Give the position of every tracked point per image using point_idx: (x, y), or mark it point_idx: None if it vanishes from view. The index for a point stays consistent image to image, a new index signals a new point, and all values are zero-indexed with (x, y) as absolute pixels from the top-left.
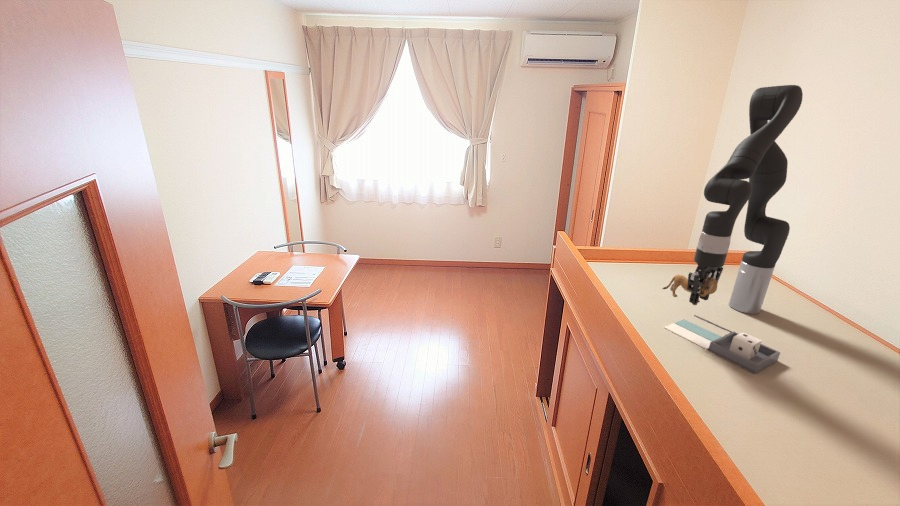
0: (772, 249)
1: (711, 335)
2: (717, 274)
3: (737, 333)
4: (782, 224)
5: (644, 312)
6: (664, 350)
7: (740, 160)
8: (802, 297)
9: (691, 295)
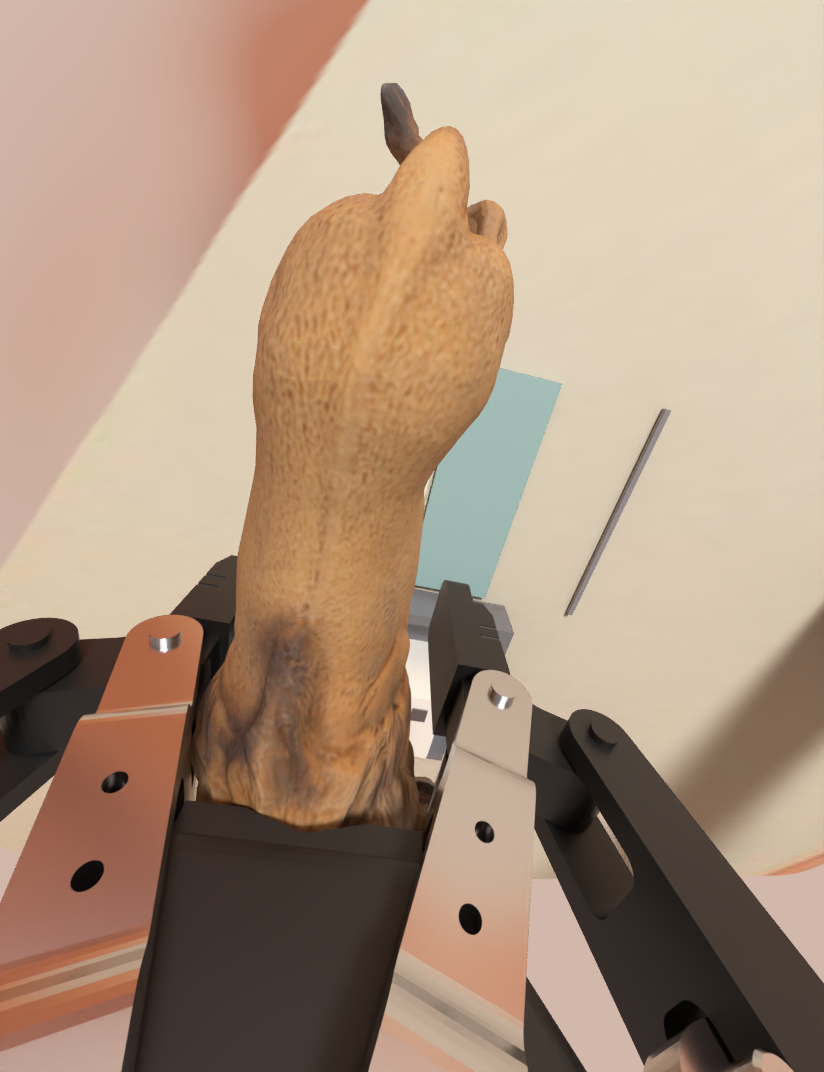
0: None
1: (466, 547)
2: (646, 1031)
3: (505, 647)
4: None
5: (481, 94)
6: (130, 437)
7: None
8: None
9: (185, 603)
